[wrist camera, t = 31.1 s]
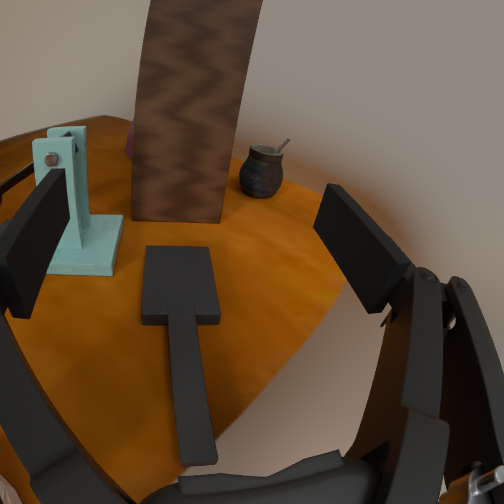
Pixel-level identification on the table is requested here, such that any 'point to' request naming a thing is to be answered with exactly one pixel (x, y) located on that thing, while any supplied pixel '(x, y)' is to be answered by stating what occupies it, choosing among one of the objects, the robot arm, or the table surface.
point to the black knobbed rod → (24, 173)
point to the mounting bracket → (77, 208)
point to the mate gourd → (262, 170)
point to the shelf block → (189, 106)
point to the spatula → (184, 338)
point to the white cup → (8, 492)
